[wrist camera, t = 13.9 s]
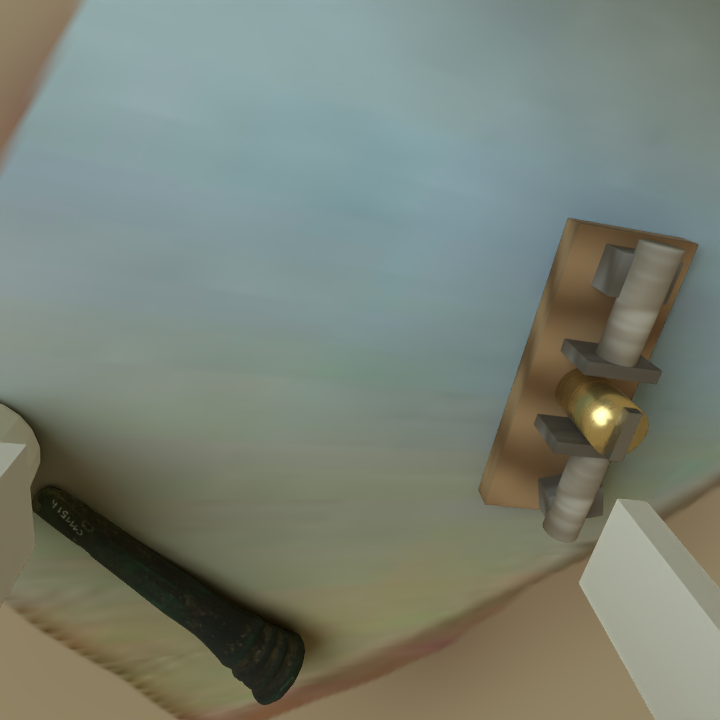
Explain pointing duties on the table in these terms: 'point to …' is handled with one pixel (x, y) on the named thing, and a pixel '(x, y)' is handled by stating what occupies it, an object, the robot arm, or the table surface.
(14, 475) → the robot arm
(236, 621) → the tool
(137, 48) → the table surface
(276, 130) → the table surface
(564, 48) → the table surface
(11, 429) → the bottle
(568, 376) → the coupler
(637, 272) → the double roll holder
